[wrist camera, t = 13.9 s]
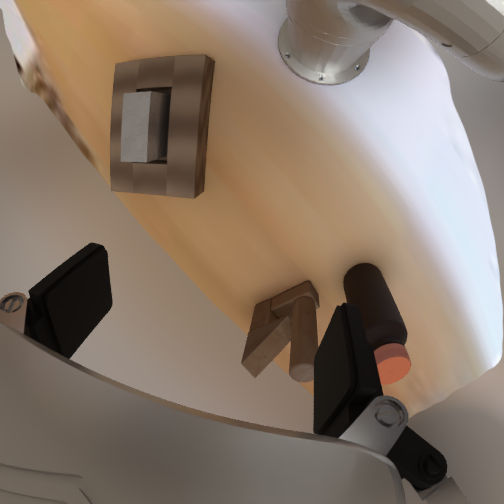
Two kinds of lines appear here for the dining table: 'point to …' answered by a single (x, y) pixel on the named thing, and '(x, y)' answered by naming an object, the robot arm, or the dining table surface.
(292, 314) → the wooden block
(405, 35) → the dining table surface
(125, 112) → the grey bar
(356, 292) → the bottle
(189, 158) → the post base
